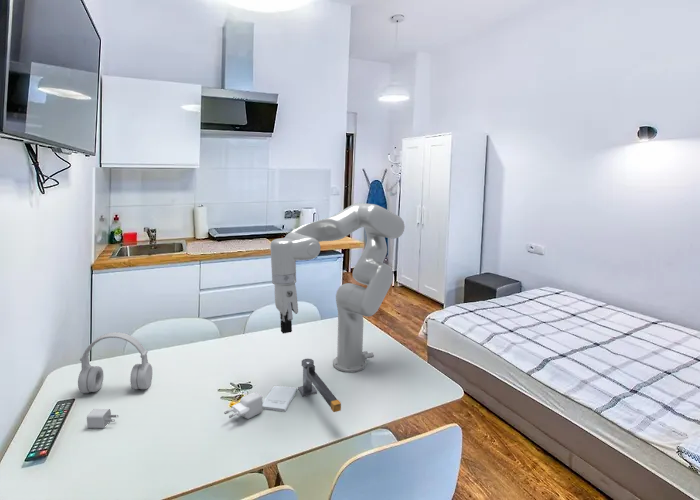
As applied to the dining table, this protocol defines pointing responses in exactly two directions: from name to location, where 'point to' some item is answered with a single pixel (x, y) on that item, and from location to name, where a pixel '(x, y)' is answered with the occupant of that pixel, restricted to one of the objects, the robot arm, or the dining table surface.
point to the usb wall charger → (99, 418)
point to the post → (306, 385)
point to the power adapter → (247, 406)
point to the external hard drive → (279, 398)
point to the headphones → (93, 375)
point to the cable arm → (321, 385)
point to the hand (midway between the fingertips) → (286, 331)
